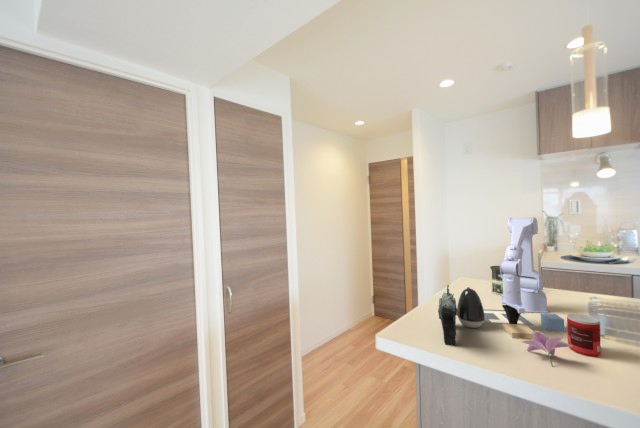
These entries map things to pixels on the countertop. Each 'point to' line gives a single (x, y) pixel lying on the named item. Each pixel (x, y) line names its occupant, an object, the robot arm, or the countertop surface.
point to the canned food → (584, 334)
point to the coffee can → (496, 280)
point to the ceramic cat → (448, 317)
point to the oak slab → (518, 331)
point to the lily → (545, 343)
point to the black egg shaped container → (470, 309)
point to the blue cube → (552, 322)
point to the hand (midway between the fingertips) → (512, 324)
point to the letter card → (501, 318)
